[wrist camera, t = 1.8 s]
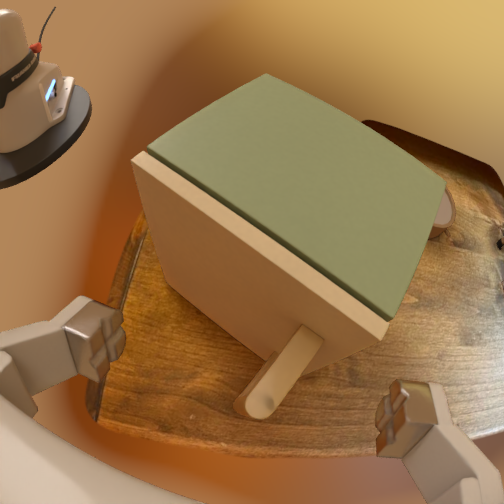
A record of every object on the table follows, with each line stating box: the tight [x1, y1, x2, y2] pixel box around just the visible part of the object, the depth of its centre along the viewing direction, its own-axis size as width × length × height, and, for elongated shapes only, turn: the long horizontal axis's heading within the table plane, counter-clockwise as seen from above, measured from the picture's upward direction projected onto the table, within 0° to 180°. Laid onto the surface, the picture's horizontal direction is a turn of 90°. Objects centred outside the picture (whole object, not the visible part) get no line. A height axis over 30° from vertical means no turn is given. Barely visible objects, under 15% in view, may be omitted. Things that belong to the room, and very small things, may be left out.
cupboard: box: [147, 74, 447, 322], centre depth 25 cm, size 12×16×18 cm
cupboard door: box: [131, 151, 390, 420], centre depth 21 cm, size 7×16×18 cm, turn 53°
